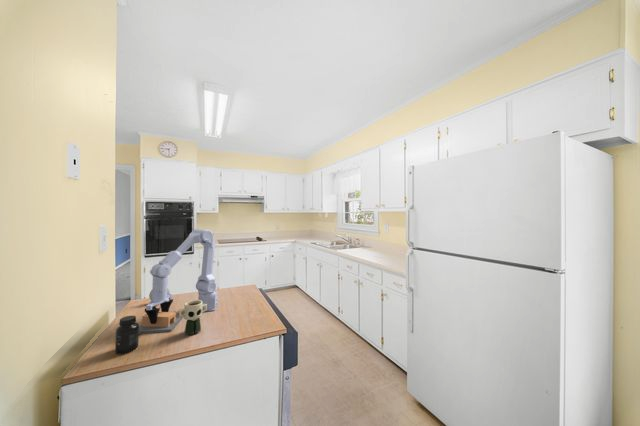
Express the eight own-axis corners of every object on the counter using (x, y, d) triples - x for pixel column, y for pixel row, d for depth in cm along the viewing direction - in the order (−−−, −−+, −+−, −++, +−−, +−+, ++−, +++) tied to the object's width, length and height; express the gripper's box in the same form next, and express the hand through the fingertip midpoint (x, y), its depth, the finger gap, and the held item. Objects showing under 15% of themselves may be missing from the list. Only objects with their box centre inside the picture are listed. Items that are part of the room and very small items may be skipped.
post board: (181, 319, 113) (182, 312, 113) (171, 331, 102) (171, 323, 102) (147, 321, 111) (148, 314, 111) (132, 334, 99) (132, 326, 99)
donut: (170, 300, 137) (170, 283, 137) (169, 302, 134) (170, 285, 134) (149, 303, 132) (149, 286, 132) (148, 305, 129) (148, 287, 129)
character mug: (180, 339, 95) (181, 308, 95) (177, 333, 101) (177, 303, 101) (208, 331, 103) (209, 302, 103) (203, 325, 108) (204, 297, 108)
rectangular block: (141, 326, 104) (142, 316, 104) (150, 321, 109) (150, 311, 109) (168, 326, 104) (168, 316, 104) (175, 321, 109) (175, 312, 109)
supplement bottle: (110, 352, 86) (111, 320, 86) (131, 342, 92) (132, 313, 92) (122, 356, 83) (123, 323, 84) (142, 346, 90) (143, 316, 90)
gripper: (158, 295, 99) (157, 327, 99) (178, 285, 114) (177, 312, 113) (141, 295, 99) (140, 327, 99) (163, 285, 113) (162, 312, 113)
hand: (159, 319), depth 106 cm, fingers open, 7 cm apart
